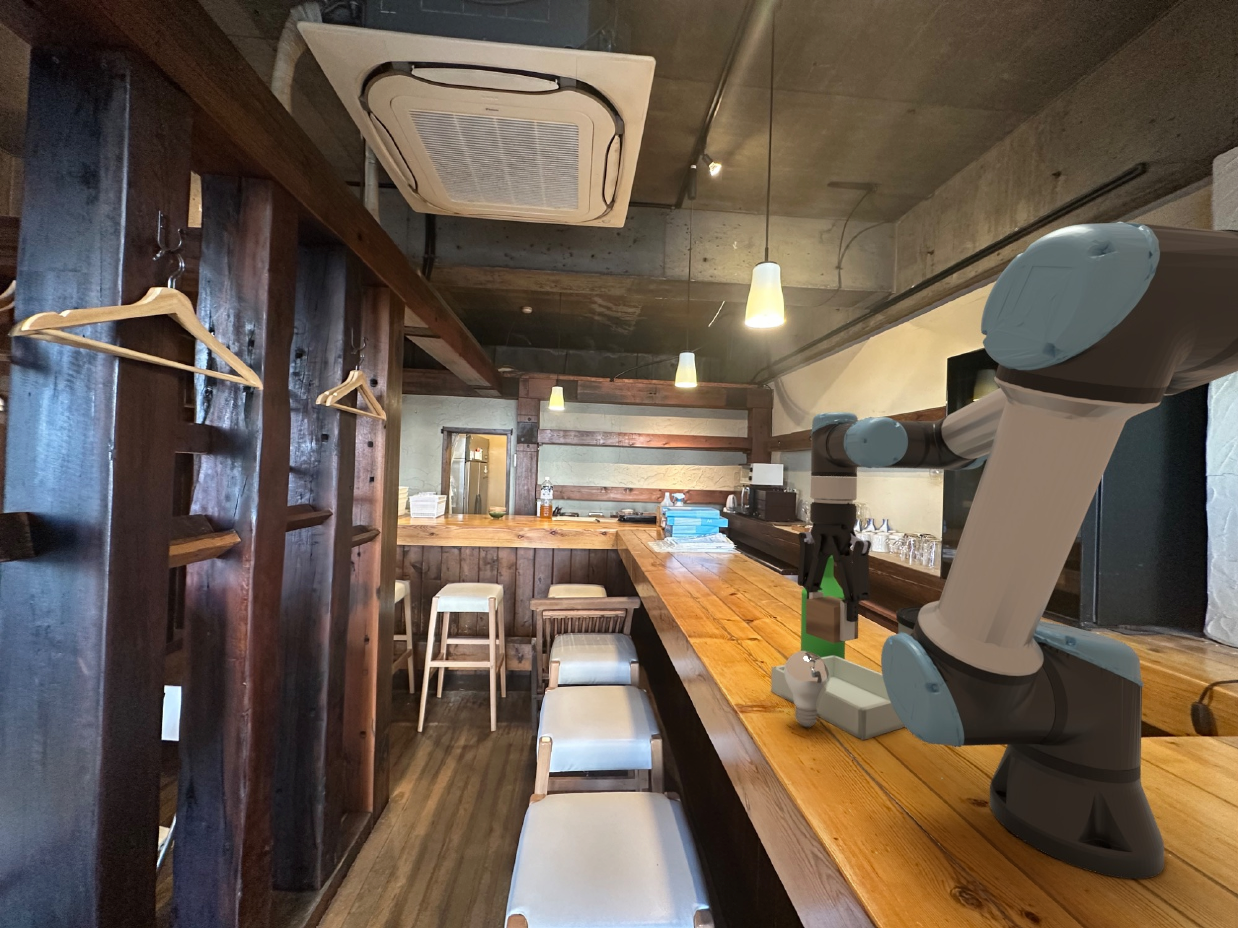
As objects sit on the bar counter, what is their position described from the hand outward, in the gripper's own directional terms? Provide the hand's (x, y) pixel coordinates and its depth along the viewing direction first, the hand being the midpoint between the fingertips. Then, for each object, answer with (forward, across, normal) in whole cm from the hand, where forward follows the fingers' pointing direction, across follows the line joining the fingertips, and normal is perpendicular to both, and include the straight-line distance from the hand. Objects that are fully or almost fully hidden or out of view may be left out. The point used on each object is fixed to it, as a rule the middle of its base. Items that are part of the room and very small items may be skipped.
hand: (830, 633), depth 91 cm
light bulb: (+13, -3, +9) cm, 16 cm away
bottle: (+13, +15, -15) cm, 25 cm away
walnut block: (0, 0, 0) cm, 0 cm away
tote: (+13, 0, -4) cm, 14 cm away
